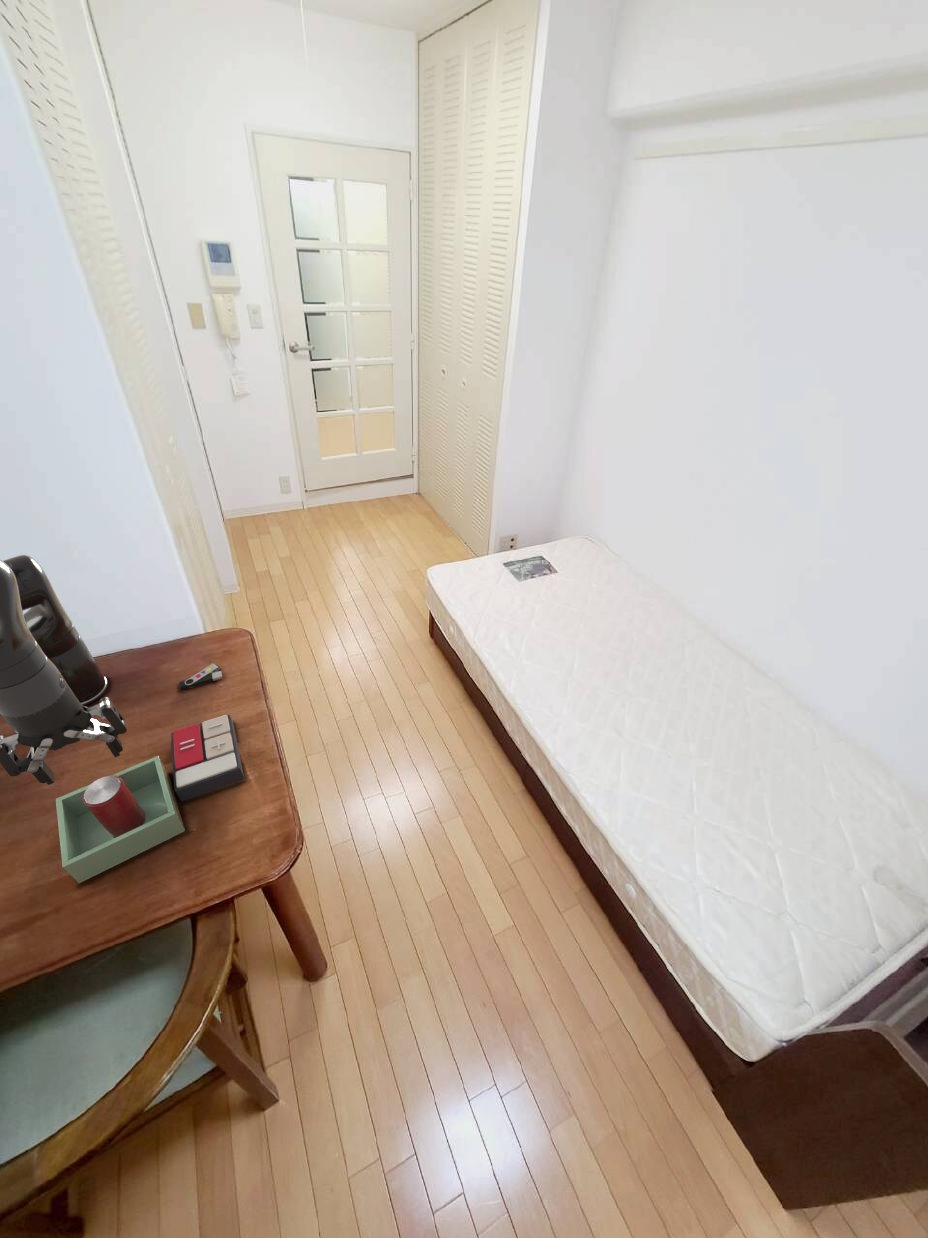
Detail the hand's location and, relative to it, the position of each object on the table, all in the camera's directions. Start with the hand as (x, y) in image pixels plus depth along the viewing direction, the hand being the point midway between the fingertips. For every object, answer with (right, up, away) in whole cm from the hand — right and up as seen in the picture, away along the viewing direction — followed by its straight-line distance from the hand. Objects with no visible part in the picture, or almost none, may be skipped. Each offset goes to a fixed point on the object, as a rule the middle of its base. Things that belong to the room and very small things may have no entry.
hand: (85, 765), depth 77 cm
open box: (-1, -14, +11) cm, 18 cm away
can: (-1, -13, +11) cm, 17 cm away
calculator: (+8, -5, +22) cm, 24 cm away
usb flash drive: (-2, +9, +38) cm, 39 cm away
